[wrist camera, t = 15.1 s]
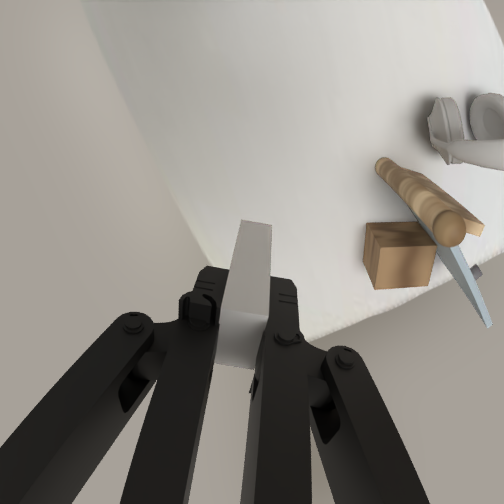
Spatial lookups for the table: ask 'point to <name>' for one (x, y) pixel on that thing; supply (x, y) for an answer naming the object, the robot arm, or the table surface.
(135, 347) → the robot arm
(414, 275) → the walnut block
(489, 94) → the headphones
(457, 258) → the door
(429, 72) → the table surface
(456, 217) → the brown long wooden part
